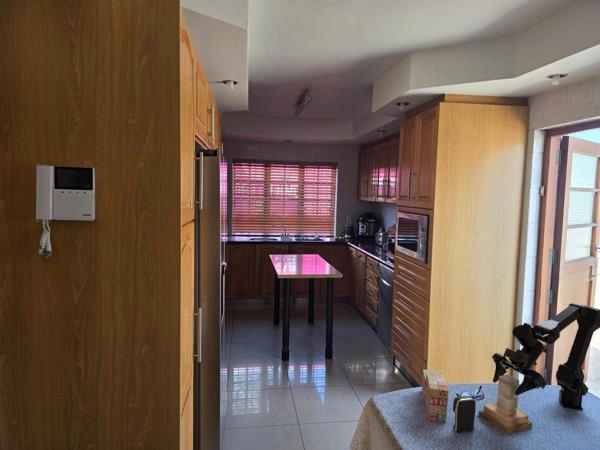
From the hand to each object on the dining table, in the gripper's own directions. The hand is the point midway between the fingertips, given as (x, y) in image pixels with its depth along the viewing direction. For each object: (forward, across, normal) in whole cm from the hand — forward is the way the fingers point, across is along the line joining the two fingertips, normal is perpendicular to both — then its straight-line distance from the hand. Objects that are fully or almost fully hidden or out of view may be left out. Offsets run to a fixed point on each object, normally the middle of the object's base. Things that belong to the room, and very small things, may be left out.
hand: (504, 388), depth 139 cm
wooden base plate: (+8, 0, +10) cm, 13 cm away
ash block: (+5, 0, +7) cm, 8 cm away
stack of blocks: (+21, -17, -2) cm, 27 cm away
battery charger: (+21, -1, -3) cm, 21 cm away
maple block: (+7, 0, +8) cm, 11 cm away
